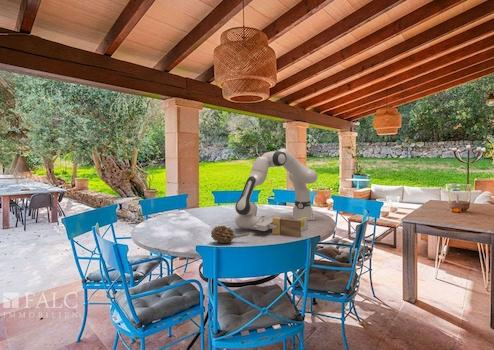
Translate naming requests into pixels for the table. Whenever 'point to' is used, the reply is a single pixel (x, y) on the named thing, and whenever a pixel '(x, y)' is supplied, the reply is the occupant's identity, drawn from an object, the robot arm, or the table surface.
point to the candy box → (304, 224)
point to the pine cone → (224, 234)
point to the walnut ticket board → (290, 227)
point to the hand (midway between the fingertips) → (278, 225)
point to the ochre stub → (276, 222)
